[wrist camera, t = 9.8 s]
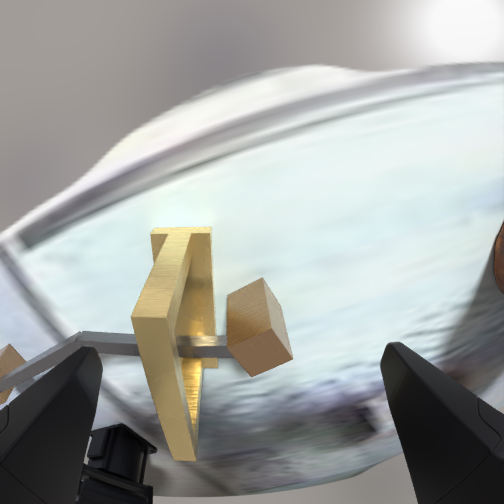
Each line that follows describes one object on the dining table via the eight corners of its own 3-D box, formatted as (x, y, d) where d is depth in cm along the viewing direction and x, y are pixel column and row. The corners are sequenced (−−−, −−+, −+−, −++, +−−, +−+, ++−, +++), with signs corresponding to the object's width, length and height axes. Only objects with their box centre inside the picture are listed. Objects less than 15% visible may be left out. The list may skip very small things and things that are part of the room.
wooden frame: (218, 358, 27) (215, 461, 17) (172, 357, 27) (155, 458, 17) (211, 226, 22) (196, 318, 12) (154, 227, 22) (103, 315, 12)
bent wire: (280, 306, 25) (293, 359, 19) (52, 403, 29) (36, 441, 24) (219, 209, 21) (215, 245, 16) (-1, 351, 26) (-25, 386, 21)
